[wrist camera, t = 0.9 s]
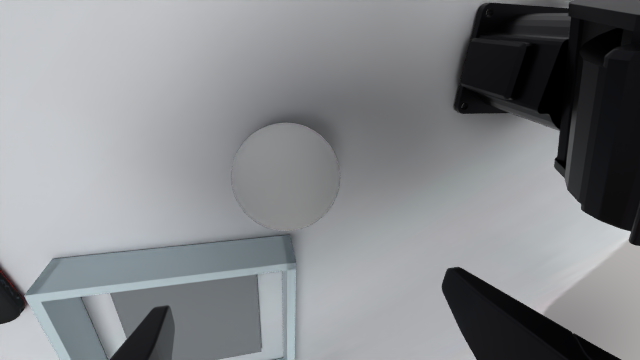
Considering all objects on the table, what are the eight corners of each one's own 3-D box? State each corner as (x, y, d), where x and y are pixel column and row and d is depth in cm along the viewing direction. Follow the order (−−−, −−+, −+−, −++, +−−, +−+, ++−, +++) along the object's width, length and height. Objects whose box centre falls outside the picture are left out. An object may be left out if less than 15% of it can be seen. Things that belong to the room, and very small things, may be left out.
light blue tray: (289, 234, 23) (295, 262, 20) (289, 360, 30) (294, 393, 27) (52, 259, 20) (24, 295, 17) (114, 394, 27) (100, 434, 24)
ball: (328, 109, 19) (360, 143, 14) (323, 192, 22) (348, 247, 17) (228, 110, 18) (223, 149, 13) (236, 199, 21) (235, 260, 15)
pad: (255, 265, 24) (256, 268, 23) (261, 348, 28) (261, 351, 28) (109, 283, 21) (107, 286, 21) (140, 370, 26) (139, 373, 26)
